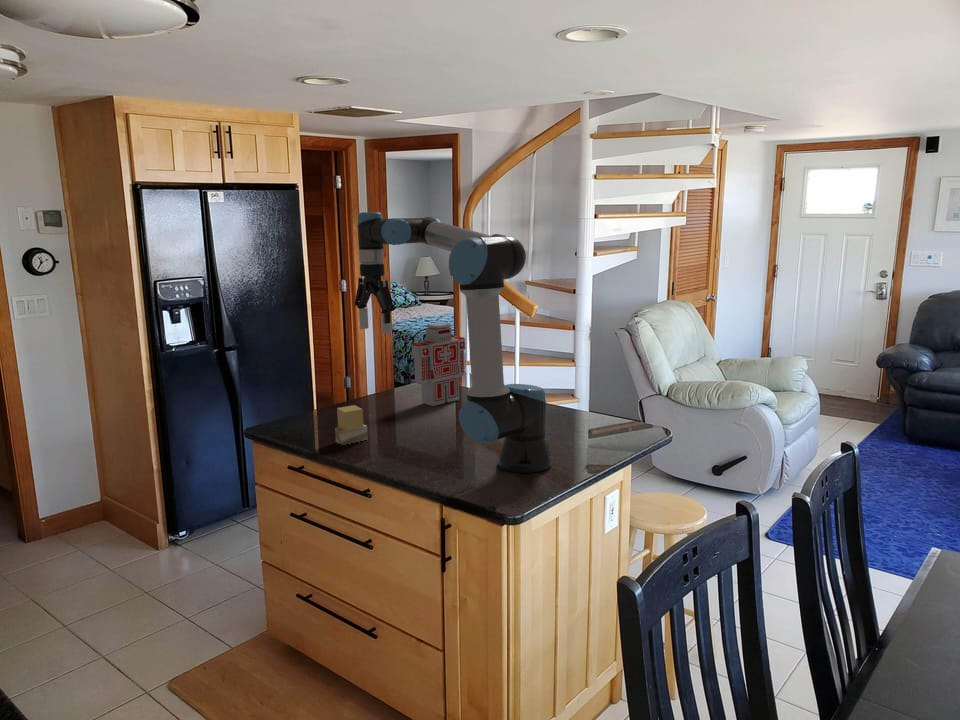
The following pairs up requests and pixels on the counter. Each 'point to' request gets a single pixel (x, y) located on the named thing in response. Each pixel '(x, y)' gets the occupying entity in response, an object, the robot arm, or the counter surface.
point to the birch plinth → (351, 435)
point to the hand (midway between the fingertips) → (375, 331)
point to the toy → (439, 364)
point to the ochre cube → (350, 417)
